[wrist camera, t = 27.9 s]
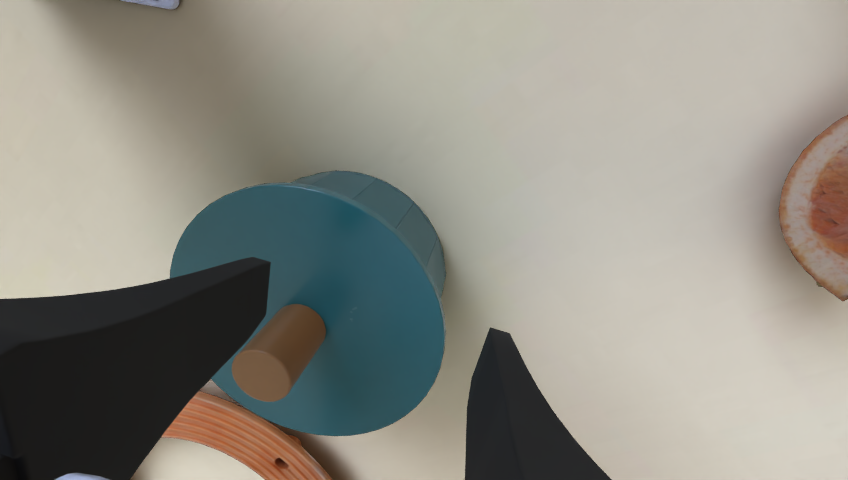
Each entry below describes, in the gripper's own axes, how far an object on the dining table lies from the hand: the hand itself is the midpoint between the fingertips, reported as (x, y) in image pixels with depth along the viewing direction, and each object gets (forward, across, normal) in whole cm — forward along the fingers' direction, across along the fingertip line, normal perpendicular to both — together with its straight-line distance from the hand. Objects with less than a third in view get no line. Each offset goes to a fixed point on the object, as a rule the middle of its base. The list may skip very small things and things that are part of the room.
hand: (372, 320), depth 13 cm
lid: (+4, +4, +4) cm, 7 cm away
